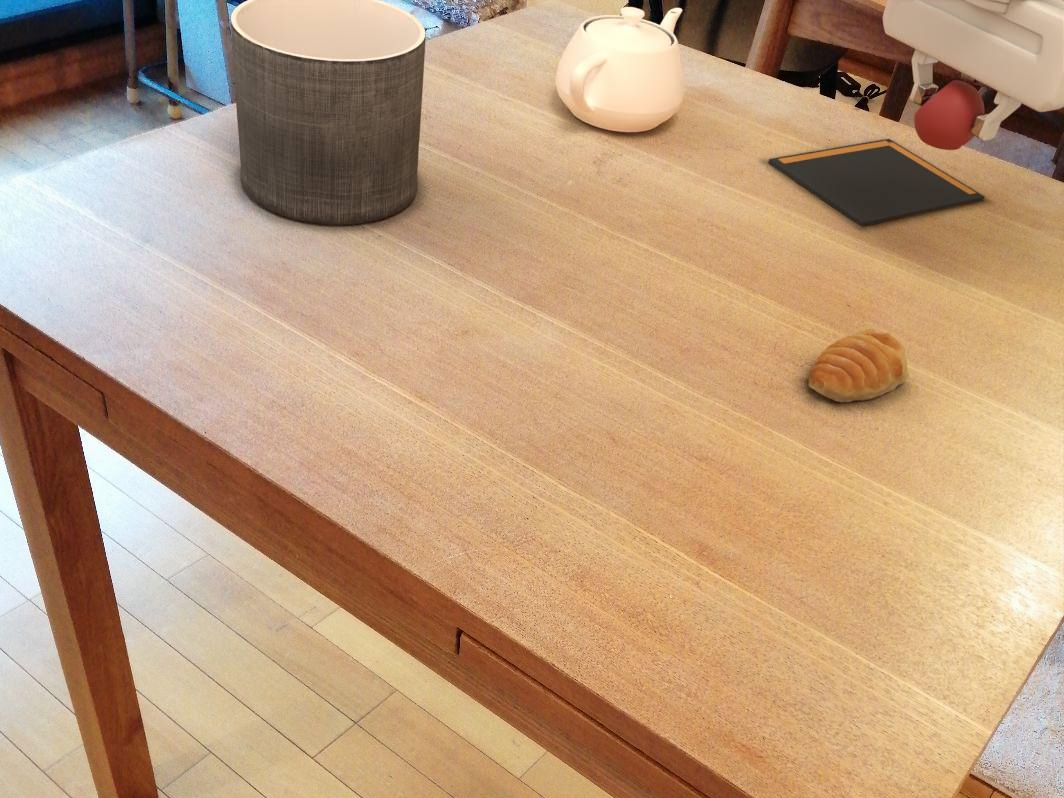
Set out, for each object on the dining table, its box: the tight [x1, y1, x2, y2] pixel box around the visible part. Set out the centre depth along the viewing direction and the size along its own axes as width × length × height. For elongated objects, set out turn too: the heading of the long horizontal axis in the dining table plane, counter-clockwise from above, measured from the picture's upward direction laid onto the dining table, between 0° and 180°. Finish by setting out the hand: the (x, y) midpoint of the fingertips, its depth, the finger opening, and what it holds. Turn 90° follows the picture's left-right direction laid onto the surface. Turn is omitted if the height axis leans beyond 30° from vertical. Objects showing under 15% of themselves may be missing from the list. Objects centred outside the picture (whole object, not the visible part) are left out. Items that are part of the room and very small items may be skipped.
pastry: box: [808, 328, 910, 404], centre depth 95 cm, size 9×7×4 cm
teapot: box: [554, 6, 686, 133], centre depth 130 cm, size 25×16×12 cm, turn 147°
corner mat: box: [768, 138, 986, 227], centre depth 128 cm, size 20×16×1 cm
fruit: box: [913, 79, 987, 151], centre depth 101 cm, size 6×6×8 cm
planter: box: [229, 0, 427, 225], centre depth 106 cm, size 18×18×16 cm
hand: (949, 119), depth 102 cm, fingers closed on fruit, 6 cm apart
